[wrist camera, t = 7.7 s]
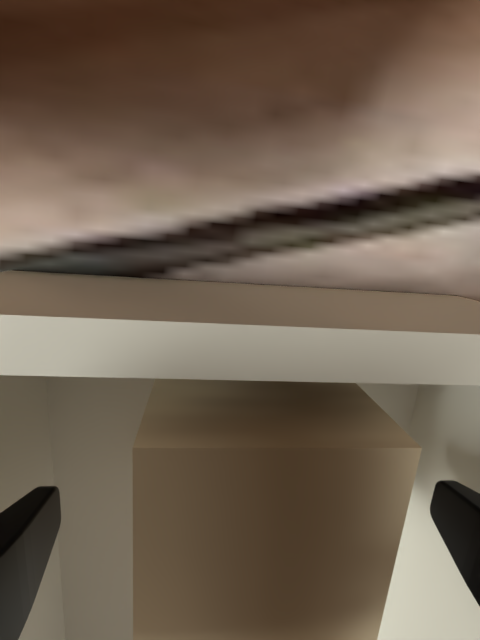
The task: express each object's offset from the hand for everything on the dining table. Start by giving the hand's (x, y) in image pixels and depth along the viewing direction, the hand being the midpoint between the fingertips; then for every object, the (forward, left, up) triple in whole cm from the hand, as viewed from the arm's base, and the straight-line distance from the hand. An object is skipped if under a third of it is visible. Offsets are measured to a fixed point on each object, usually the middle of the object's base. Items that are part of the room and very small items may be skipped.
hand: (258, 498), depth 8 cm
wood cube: (0, 0, -3) cm, 3 cm away
